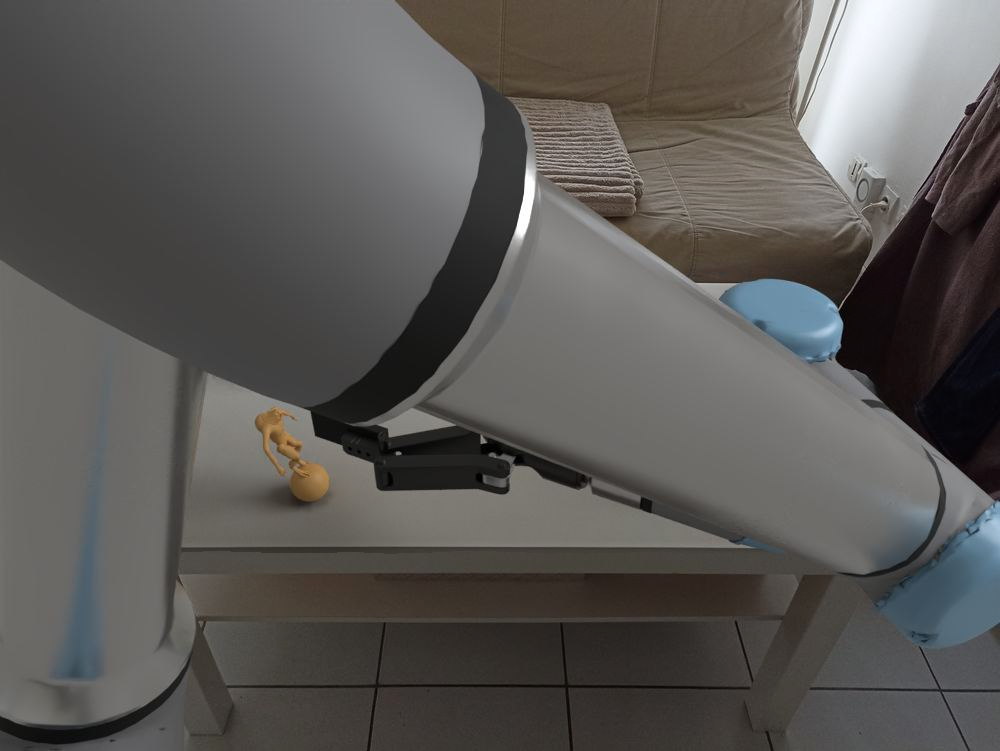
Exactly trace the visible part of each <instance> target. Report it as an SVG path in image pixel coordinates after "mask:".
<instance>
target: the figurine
mask: <svg viewBox="0 0 1000 751" xmlns="http://www.w3.org/2000/svg"><path fill="white" fill-rule="evenodd" d="M284 416H285V417H290V419H292V420H293V421H297V422H298V421H299V420H298V419H297V417H295V416H294V415H293V414H292V413H291V412H288V411H286V410H283V409H281V408H279V407H277V406H274V407H272V408H270V409H269V410H267V411H266V412H262V413H259V414H257V415H256V417H255V418H254V426H255V428H256V430H257V431H258V432H259V433H261V435H262V449H263V452H264V454H265V455H266V456H267V458H268V459H269V461H270V462H271V463H272V464H273V466H275V468H276V470H277V472H278V474H279V475H280V477H282V478H284V477H286V475H288V474H289V473H288V472H286V471H285V470H287V468H286V467H282V466H281V465H280V463H279V462H278V460H277V458H276V457H275V456H274V454H273V453H272V451H271V449H270V441H271V442H272V443H274V444H275V445H276V452H277V453H278V454H281V455H282V456H284V457H285V458H287V459H289V462H288V466H289V469H290V470H292V473H291V475H290V479H289V488H290V490H291V493H292V494H293V495H294V496H295V497H296V498H297V499H298V500H301V501H303V502H310V503H311V502H315V501H318V500H320V499H321V498H323V497H324V496H325V495H326V493H327V492H328V490H329V487H330V476H329V473H328V472H327V470H326V469H325V467H323V466H322V465H320V464H319V463H315V462H310V461H305V460H303V459H301V455H300V451H301V450H302V449H303V446H304V444H303V442H302V441H301V440H298V439H297V438H295V437H293V435H290V433H289V432H287V430H285V425H284V424H285V423H284V422H283V421H284V420H282V419H283V418H284ZM297 464H298V465H299V466H296V465H297Z"/></svg>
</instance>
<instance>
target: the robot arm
mask: <svg viewBox="0 0 1000 751" xmlns="http://www.w3.org/2000/svg"><path fill="white" fill-rule="evenodd" d="M536 147H537V146H536V142H535V137H534V132H533V130H532V128H531V125H530V122H529V120H528V118H527V116H525V114H524V113H523V111H522V110H521V109H520V107H518V106H517V105H516V104H515V103H514V102H513V101H511V99H509V98H508V97H506V96H505V95H503V94H502V93H501V92H500V91H498V90H497V89H496V88H495V87H493V86H492V85H491V84H489V83H488V82H487V81H485V80H484V79H483V78H481V77H480V76H479V75H477V73H475V72H474V71H472V70H471V69H470V68H468V67H467V66H466V65H465V64H464V63H462V62H461V61H460V60H459V59H457V57H455V56H454V55H453V54H451V53H450V52H449V51H448V50H447V49H445V48H444V47H443V45H441V44H440V43H439V42H438V41H436V40H435V39H434V38H433V37H432V36H431V35H430V34H428V33H427V32H426V31H425V30H424V29H423V28H422V27H421V25H420V24H418V22H416V21H415V19H413V17H411V15H409V13H408V12H407V11H406V10H405V9H404V8H403V7H402V6H401V5H400V4H399V3H398V2H397V1H396V0H0V751H185V711H186V710H185V708H186V707H185V706H186V695H187V686H188V681H189V676H190V671H191V665H192V658H193V654H194V648H195V647H194V645H195V641H196V637H197V635H196V634H197V620H196V619H197V618H196V612H195V609H194V605H193V602H192V600H191V598H190V596H189V594H188V593H187V591H186V589H185V588H184V586H182V584H181V583H180V582H179V580H178V574H179V568H180V567H179V566H180V561H181V554H182V553H181V552H182V548H183V541H184V535H185V528H186V522H187V515H188V509H189V503H190V502H189V501H190V494H191V489H192V482H193V475H194V468H195V462H196V456H197V450H198V443H199V436H200V429H201V423H202V416H203V409H204V402H205V397H206V391H207V390H206V389H207V383H208V377H209V375H211V376H214V377H216V378H219V379H221V380H224V381H226V382H229V383H232V384H234V385H237V386H239V387H241V388H243V389H247V390H249V391H252V392H254V393H256V394H259V395H261V396H264V397H267V398H269V399H273V400H276V401H279V402H283V403H285V404H289V405H292V406H295V407H297V408H301V409H303V410H306V411H308V412H310V417H311V423H312V427H313V434H314V437H316V438H318V439H322V440H325V441H327V442H330V443H333V444H337V445H340V446H341V447H342V451H343V452H344V453H345V454H346V455H348V456H351V457H354V458H357V459H359V460H363V461H365V462H368V463H371V464H373V471H374V479H375V480H374V481H375V486H376V489H377V490H378V491H380V492H408V491H410V492H411V491H412V492H413V491H452V490H454V491H458V490H459V491H460V490H479V491H483V492H487V493H492V494H495V495H500V496H505V495H507V494H508V493H509V492H510V491H511V490H510V489H511V477H512V474H513V472H514V469H515V467H529V468H531V469H532V470H534V471H535V472H536V473H537V474H538V476H540V478H542V479H543V480H546V481H549V482H552V483H555V484H558V485H562V486H564V487H567V488H570V489H574V490H576V491H580V490H583V489H585V488H586V487H589V489H590V492H591V494H592V495H594V496H596V497H599V498H603V499H606V500H609V501H611V502H615V503H616V504H617V503H618V504H621V505H623V506H627V507H630V508H633V509H636V510H639V511H642V512H645V513H648V514H653V515H654V516H655V515H656V516H658V517H661V518H663V519H667V520H670V521H673V522H675V523H679V524H682V525H683V526H686V527H690V528H693V529H695V530H699V531H701V532H703V533H706V534H710V535H713V536H716V537H719V538H722V539H724V540H726V541H728V542H729V543H732V544H733V545H736V546H739V545H743V546H745V547H750V548H755V549H757V550H758V549H759V550H763V551H767V552H770V553H774V554H779V555H791V556H793V557H796V558H799V559H802V560H804V561H807V562H809V563H812V564H815V565H817V566H819V567H822V568H824V569H827V570H829V571H831V572H833V573H836V574H838V575H839V576H842V577H845V578H847V579H849V580H851V581H853V582H854V583H855V584H856V585H857V586H859V587H860V589H861V590H862V591H863V592H864V594H865V595H866V596H867V597H868V599H869V600H870V601H871V602H872V603H873V604H872V606H871V607H873V608H874V609H875V611H876V612H877V613H879V614H882V615H883V616H884V617H885V618H886V619H887V620H888V621H889V623H891V625H893V626H894V627H895V628H896V630H898V631H899V632H900V633H901V634H902V636H903V637H905V638H906V640H907V641H909V642H910V643H912V644H913V645H915V646H917V647H920V648H924V649H928V650H941V649H945V648H950V647H951V648H952V647H955V646H958V645H961V644H963V643H966V642H969V641H970V640H973V639H975V638H976V637H977V638H978V637H979V636H981V635H982V634H984V633H986V632H987V631H989V630H990V629H992V628H994V627H995V626H997V625H998V624H999V623H1000V501H999V499H996V500H994V498H992V497H991V496H990V495H989V494H987V493H986V492H985V491H984V490H983V489H981V487H980V486H978V484H976V483H975V482H974V481H973V480H971V479H970V478H969V477H968V476H967V475H966V474H965V473H964V472H962V471H961V470H960V469H959V468H958V467H956V465H955V464H953V463H952V462H951V461H950V460H949V459H948V458H946V457H945V456H944V455H943V454H942V453H941V452H939V450H937V449H936V448H935V447H934V446H933V445H931V444H930V443H929V442H928V441H927V440H925V439H924V438H923V437H922V436H921V435H919V434H918V433H917V432H916V431H915V430H913V428H911V427H910V426H909V425H908V424H906V423H905V422H904V421H903V420H902V419H901V418H899V417H898V415H896V414H895V412H894V411H893V410H891V409H890V408H889V407H888V406H887V405H886V404H885V402H883V401H882V400H881V399H880V398H878V397H877V396H876V395H875V394H874V393H873V392H872V391H870V389H868V388H867V387H866V386H865V385H864V384H863V383H862V382H860V380H859V379H858V378H856V377H855V376H854V375H853V374H852V373H851V372H849V371H848V370H847V369H846V368H845V367H843V366H842V365H841V364H840V363H838V361H837V360H836V356H837V353H839V350H840V349H841V348H842V344H841V340H842V334H843V330H844V322H843V320H842V318H841V316H840V314H841V313H839V309H838V306H837V305H836V304H835V302H834V301H833V300H831V299H830V298H829V297H828V296H826V295H825V294H824V293H822V292H820V291H818V290H817V289H814V288H812V287H810V286H807V285H805V284H801V283H799V282H795V281H789V280H784V279H778V278H777V279H775V278H758V279H756V280H752V281H743V282H739V283H736V284H735V285H732V286H731V287H730V288H728V289H726V290H727V291H726V292H725V291H724V292H723V293H722V294H721V295H720V297H719V298H717V297H715V295H713V294H712V293H710V292H709V291H707V290H706V289H705V288H703V287H701V285H699V284H698V283H696V282H695V281H693V280H692V279H691V278H689V277H687V276H686V275H685V274H683V272H681V271H679V270H678V269H676V268H675V267H673V266H672V265H671V264H669V263H668V262H666V261H665V260H663V259H662V258H661V257H659V256H658V255H657V254H655V253H654V252H652V251H651V250H649V249H648V247H647V248H646V247H645V246H644V245H642V244H641V243H640V242H638V241H637V240H636V239H634V238H633V237H631V236H630V235H628V234H627V233H625V232H624V231H623V230H622V229H620V228H618V227H617V226H616V225H614V224H613V223H611V221H609V220H607V219H606V218H604V217H603V216H602V215H600V214H598V213H597V212H596V211H595V210H593V209H592V208H591V207H589V206H588V205H586V204H585V203H583V202H582V201H580V199H577V198H576V197H575V196H573V195H572V194H570V192H567V191H566V190H565V189H564V188H562V187H561V186H559V185H558V184H557V183H555V182H553V181H552V180H551V179H549V178H548V177H546V176H545V175H543V173H541V172H539V171H538V162H537V149H536ZM411 409H414V410H417V411H419V412H421V413H424V414H427V415H429V416H432V417H435V418H437V419H440V420H442V421H445V422H448V423H450V424H452V425H451V426H444V427H440V428H439V427H438V428H433V429H429V430H422V431H417V432H411V433H405V434H399V435H395V436H390V435H389V434H390V433H389V428H387V427H385V426H382V425H381V424H384V423H386V422H388V421H391V420H393V419H396V418H397V417H399V416H401V415H403V414H404V413H405V412H407V411H409V410H411ZM481 437H482V438H483V440H484V441H485V442H483V443H482V438H481ZM397 453H400V454H397Z"/></svg>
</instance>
